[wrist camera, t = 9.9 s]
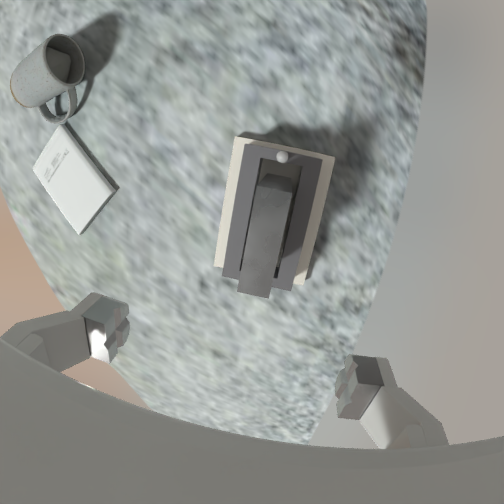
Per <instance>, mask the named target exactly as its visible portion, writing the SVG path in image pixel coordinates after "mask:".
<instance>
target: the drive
mask: <svg viewBox="0 0 504 504" xmlns="http://www.w3.org/2000/svg"><path fill="white" fill-rule="evenodd" d="M291 197H292V178H289V177H284V176H280V175H275V174H270V173H267V174H266V175H265V177H264V178H263V179H262V180H261V181H260V183H259V184H258V185H257V187H256V192H255V198H254V203H253V208H252V214H251V219H250V224H249V230H248V235H247V241H246V246H245V251H244V257H243V262H242V268H241V273H240V279H239V284H238V290H237V292H241V293H245V294H250V295H255V296H259V297H264V298H269V294H270V290H271V286H272V282H273V277H274V273H275V269H276V264H277V260H278V256H279V251H280V247H281V242H282V238H283V233H284V229H285V224H286V220H287V215H288V211H289V206H290V201H291Z"/></svg>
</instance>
